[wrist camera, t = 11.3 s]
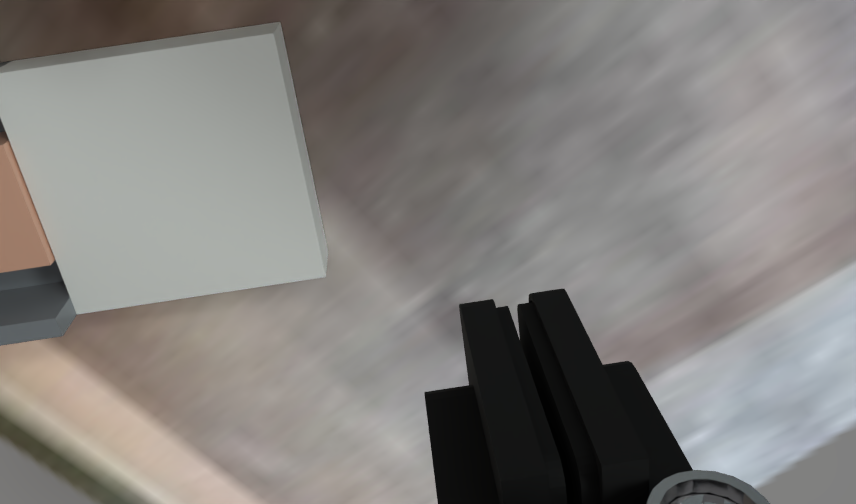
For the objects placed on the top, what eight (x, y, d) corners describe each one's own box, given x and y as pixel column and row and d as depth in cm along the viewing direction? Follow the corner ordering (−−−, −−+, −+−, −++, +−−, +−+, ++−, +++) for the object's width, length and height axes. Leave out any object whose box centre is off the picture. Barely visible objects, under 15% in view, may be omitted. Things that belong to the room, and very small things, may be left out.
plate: (12, 60, 35) (-17, 75, 33) (280, 21, 36) (273, 33, 33) (95, 285, 41) (76, 314, 38) (328, 250, 41) (325, 277, 38)
